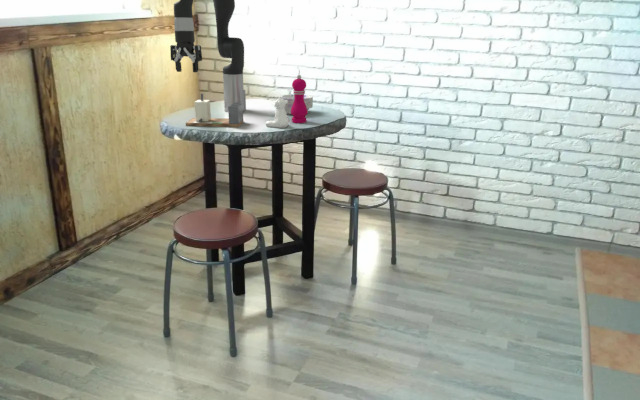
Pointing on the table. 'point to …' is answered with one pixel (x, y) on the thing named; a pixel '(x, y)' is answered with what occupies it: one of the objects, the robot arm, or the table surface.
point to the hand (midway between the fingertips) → (187, 72)
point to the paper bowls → (290, 98)
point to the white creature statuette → (279, 115)
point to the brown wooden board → (213, 123)
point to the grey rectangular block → (235, 113)
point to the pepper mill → (299, 101)
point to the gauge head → (202, 110)
